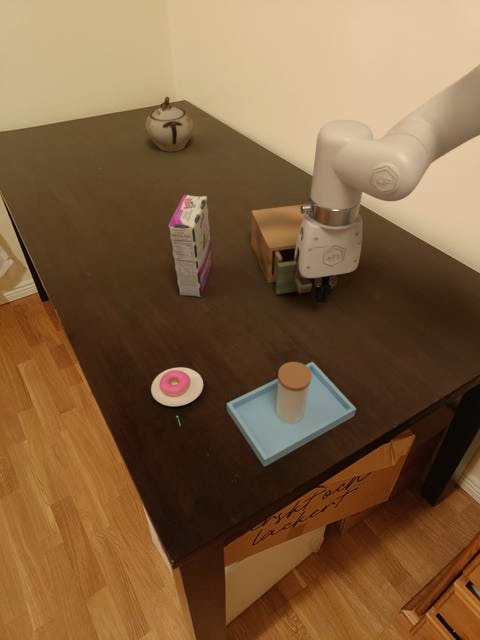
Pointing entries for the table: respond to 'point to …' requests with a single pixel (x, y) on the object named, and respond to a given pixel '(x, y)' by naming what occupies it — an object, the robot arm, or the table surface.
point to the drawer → (288, 273)
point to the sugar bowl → (169, 127)
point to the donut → (177, 386)
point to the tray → (282, 438)
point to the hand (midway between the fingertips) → (319, 298)
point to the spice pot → (292, 392)
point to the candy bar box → (191, 245)
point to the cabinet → (274, 233)
